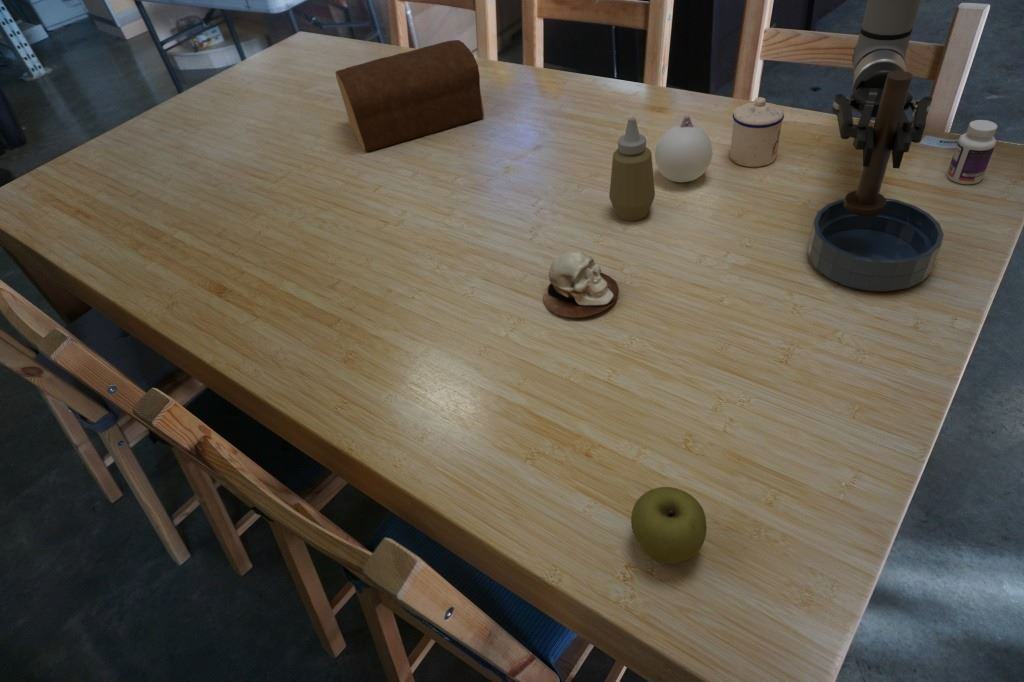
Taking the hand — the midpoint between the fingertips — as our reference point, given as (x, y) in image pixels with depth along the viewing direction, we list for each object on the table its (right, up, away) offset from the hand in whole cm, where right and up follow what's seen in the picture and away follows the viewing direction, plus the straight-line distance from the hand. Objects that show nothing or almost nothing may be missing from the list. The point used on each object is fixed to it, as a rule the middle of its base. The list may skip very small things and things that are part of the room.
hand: (883, 158), depth 90 cm
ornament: (-17, +7, +38) cm, 43 cm away
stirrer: (+3, -4, +11) cm, 12 cm away
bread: (-73, +27, +71) cm, 105 cm away
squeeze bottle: (-28, -1, +32) cm, 43 cm away
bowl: (+5, -12, +14) cm, 19 cm away
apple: (-33, -47, -16) cm, 60 cm away
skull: (-39, -18, +17) cm, 46 cm away
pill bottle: (+29, +4, +27) cm, 40 cm away
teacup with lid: (-3, +12, +42) cm, 44 cm away
